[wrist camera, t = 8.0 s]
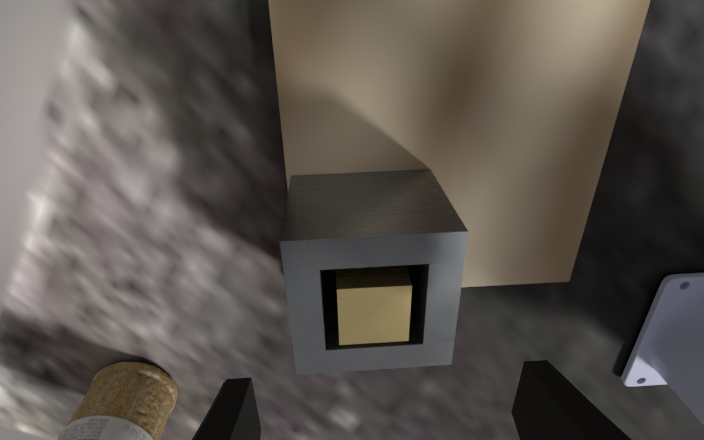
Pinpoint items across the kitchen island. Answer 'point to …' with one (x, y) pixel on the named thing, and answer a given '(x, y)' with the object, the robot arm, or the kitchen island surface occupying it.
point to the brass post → (373, 304)
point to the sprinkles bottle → (124, 404)
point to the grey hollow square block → (371, 264)
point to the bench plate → (464, 110)
